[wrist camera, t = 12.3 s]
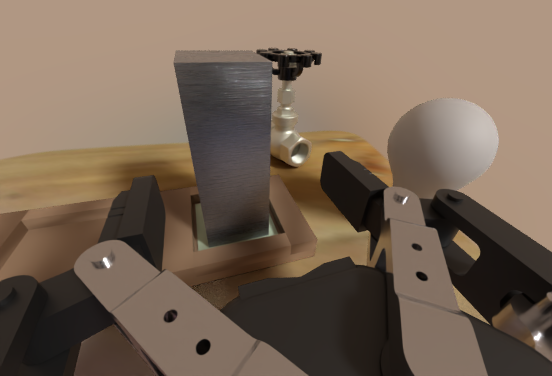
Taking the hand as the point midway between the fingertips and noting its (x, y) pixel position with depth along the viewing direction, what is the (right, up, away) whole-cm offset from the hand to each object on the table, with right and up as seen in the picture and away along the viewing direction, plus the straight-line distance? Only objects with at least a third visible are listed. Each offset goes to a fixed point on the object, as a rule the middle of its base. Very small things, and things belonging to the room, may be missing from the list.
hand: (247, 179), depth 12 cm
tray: (-8, -5, +7) cm, 12 cm away
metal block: (-2, -3, +8) cm, 9 cm away
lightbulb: (+12, -4, +9) cm, 16 cm away
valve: (+2, +3, +20) cm, 20 cm away
